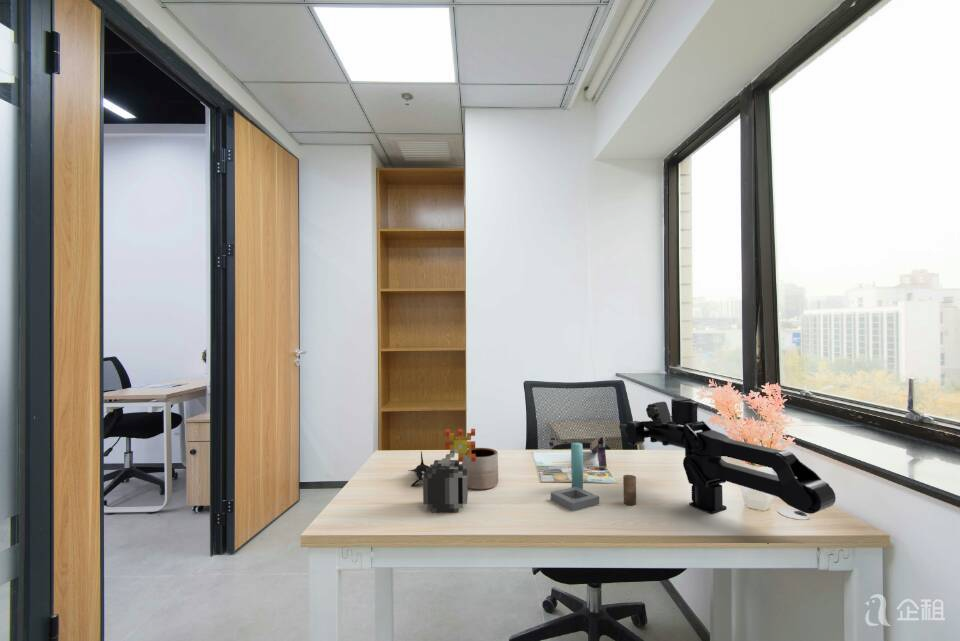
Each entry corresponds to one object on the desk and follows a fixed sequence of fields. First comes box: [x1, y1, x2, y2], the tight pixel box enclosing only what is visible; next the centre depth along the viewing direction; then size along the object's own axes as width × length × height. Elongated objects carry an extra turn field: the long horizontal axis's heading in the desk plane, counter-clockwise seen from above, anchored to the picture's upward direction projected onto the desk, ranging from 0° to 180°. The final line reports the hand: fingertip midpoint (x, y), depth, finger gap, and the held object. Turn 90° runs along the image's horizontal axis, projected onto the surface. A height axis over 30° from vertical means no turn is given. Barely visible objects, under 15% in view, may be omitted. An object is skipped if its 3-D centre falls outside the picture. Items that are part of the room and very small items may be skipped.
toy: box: [407, 451, 430, 487], centre depth 143 cm, size 21×10×10 cm, turn 21°
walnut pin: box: [622, 474, 637, 507], centre depth 121 cm, size 3×3×7 cm
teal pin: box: [570, 442, 584, 490], centre depth 132 cm, size 3×3×13 cm
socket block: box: [550, 486, 600, 512], centre depth 122 cm, size 9×9×2 cm
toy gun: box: [589, 435, 608, 469], centre depth 160 cm, size 2×21×10 cm, turn 174°
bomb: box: [422, 428, 476, 514], centre depth 120 cm, size 8×13×20 cm, turn 91°
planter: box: [461, 447, 499, 491], centre depth 137 cm, size 11×11×10 cm
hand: (630, 424), depth 140 cm, fingers open, 9 cm apart
